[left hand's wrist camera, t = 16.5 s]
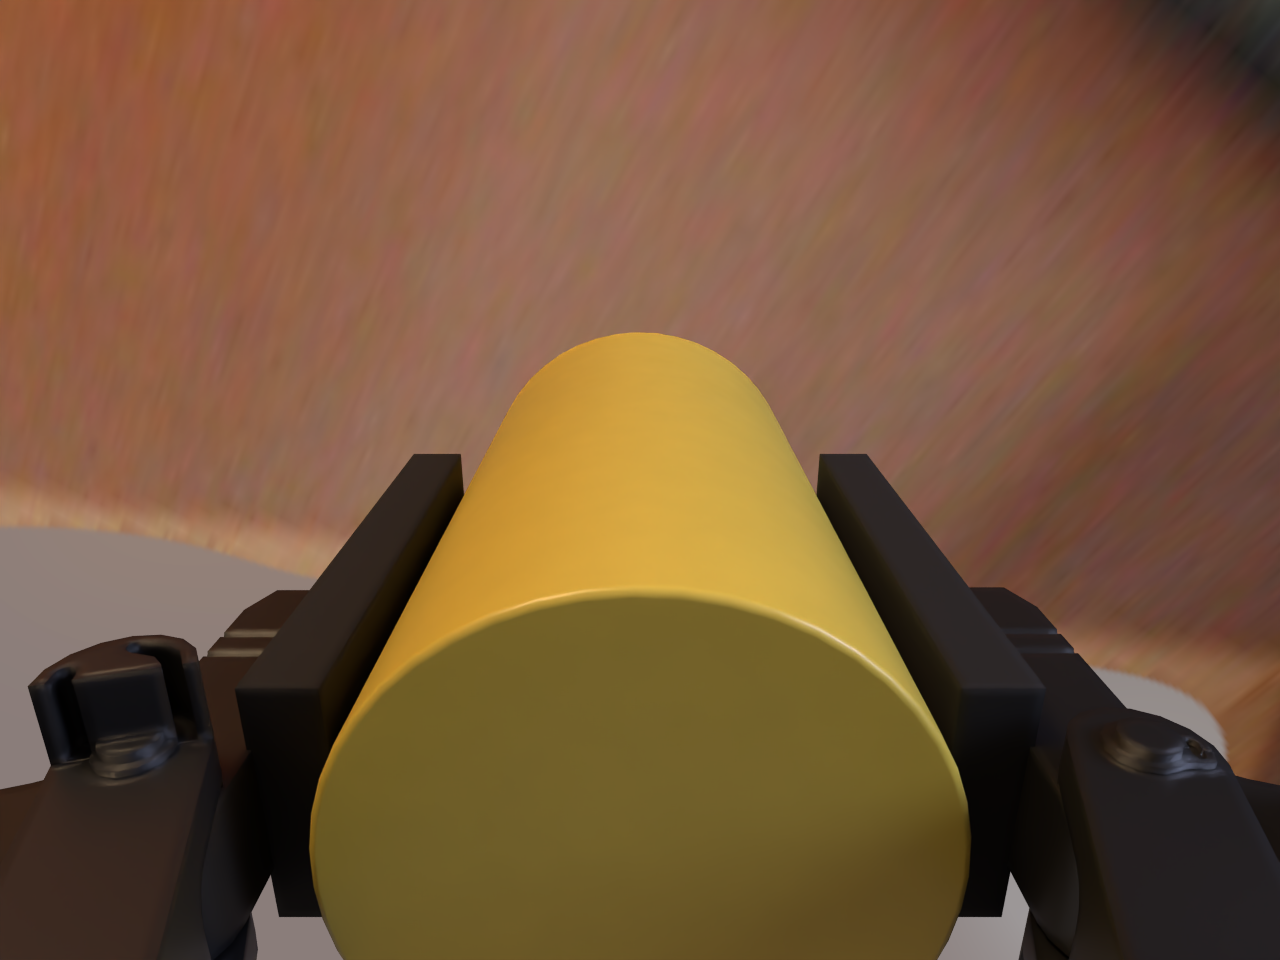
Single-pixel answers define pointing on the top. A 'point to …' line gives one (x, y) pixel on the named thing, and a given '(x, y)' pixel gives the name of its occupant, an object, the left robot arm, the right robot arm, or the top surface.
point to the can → (640, 705)
